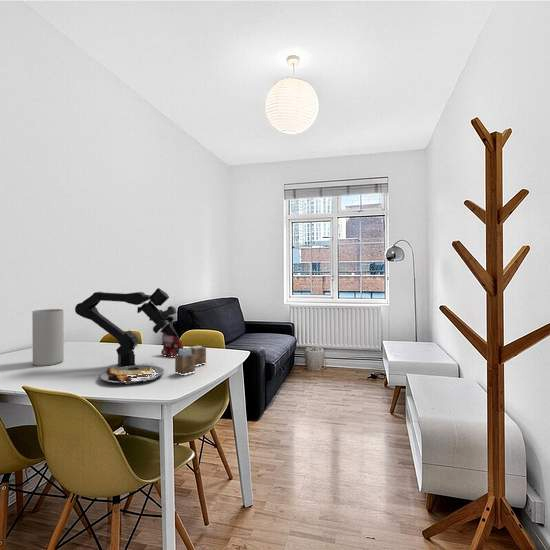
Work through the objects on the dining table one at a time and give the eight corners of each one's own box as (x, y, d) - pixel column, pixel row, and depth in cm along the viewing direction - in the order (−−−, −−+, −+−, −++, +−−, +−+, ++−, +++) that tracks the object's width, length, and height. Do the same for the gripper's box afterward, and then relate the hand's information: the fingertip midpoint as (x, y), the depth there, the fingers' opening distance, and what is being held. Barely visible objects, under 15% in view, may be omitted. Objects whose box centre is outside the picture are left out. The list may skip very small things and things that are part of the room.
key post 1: (195, 367, 165) (195, 349, 165) (187, 364, 169) (187, 347, 169) (205, 364, 170) (205, 347, 170) (198, 362, 174) (198, 345, 174)
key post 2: (183, 376, 151) (183, 357, 151) (175, 373, 155) (175, 355, 155) (195, 373, 156) (195, 354, 155) (186, 370, 160) (187, 352, 159)
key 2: (183, 369, 153) (184, 350, 152) (178, 367, 155) (178, 348, 155) (191, 367, 155) (191, 348, 155) (186, 365, 158) (186, 347, 158)
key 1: (195, 365, 167) (195, 347, 167) (191, 363, 169) (191, 346, 169) (202, 363, 170) (202, 346, 170) (197, 362, 172) (197, 345, 172)
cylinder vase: (48, 367, 164) (48, 312, 163) (25, 365, 166) (25, 311, 166) (69, 360, 176) (69, 309, 176) (48, 358, 179) (47, 308, 178)
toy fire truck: (177, 358, 181) (177, 338, 181) (158, 356, 186) (158, 336, 186) (186, 355, 187) (186, 335, 187) (167, 353, 192) (168, 333, 192)
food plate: (93, 388, 135) (93, 379, 135) (104, 372, 157) (104, 364, 157) (163, 384, 142) (163, 375, 142) (164, 369, 164) (164, 361, 164)
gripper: (160, 302, 159) (185, 327, 160) (170, 299, 178) (192, 321, 178) (142, 320, 159) (167, 345, 159) (154, 315, 177) (176, 337, 178)
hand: (176, 336), depth 169 cm, fingers closed
